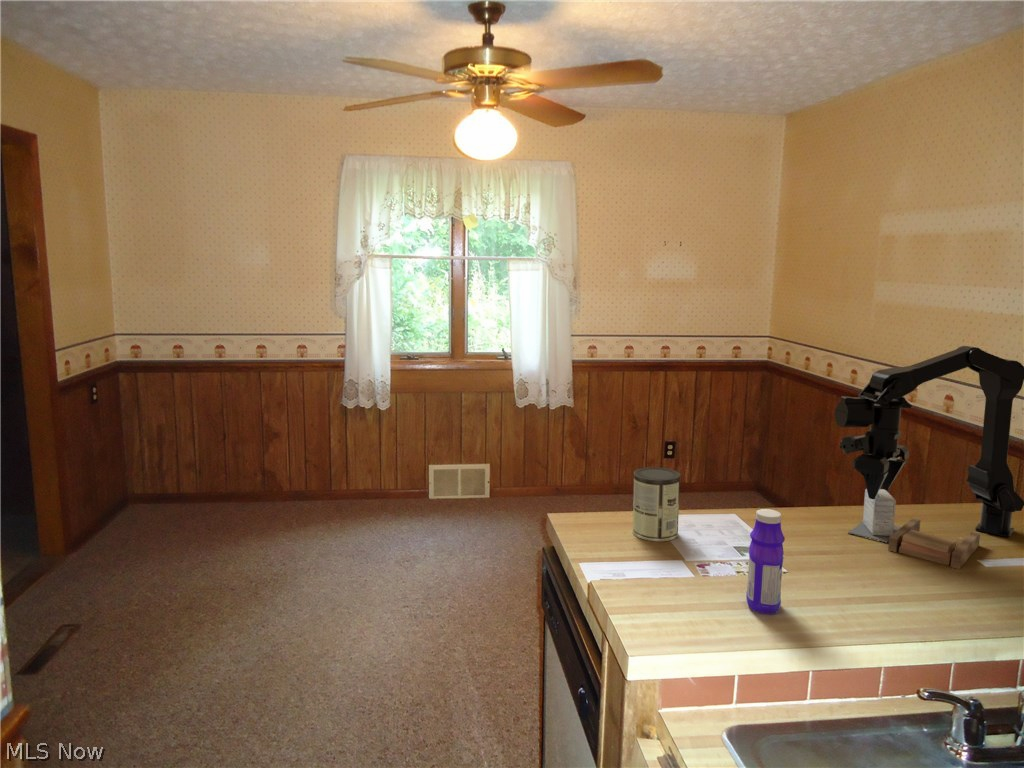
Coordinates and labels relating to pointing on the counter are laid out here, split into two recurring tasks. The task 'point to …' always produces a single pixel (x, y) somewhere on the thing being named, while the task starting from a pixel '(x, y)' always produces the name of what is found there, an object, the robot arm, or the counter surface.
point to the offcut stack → (927, 547)
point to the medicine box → (879, 513)
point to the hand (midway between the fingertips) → (878, 494)
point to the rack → (957, 555)
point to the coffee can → (656, 504)
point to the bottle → (765, 563)
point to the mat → (864, 532)
